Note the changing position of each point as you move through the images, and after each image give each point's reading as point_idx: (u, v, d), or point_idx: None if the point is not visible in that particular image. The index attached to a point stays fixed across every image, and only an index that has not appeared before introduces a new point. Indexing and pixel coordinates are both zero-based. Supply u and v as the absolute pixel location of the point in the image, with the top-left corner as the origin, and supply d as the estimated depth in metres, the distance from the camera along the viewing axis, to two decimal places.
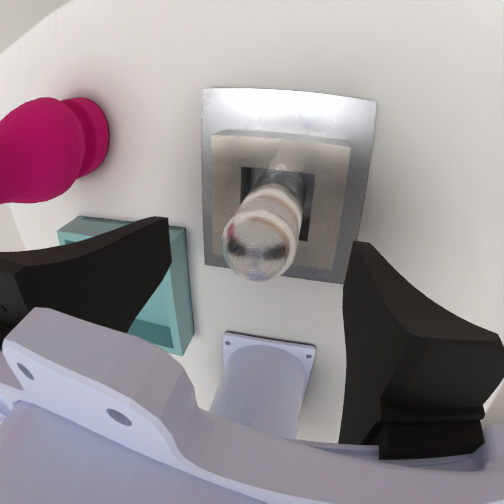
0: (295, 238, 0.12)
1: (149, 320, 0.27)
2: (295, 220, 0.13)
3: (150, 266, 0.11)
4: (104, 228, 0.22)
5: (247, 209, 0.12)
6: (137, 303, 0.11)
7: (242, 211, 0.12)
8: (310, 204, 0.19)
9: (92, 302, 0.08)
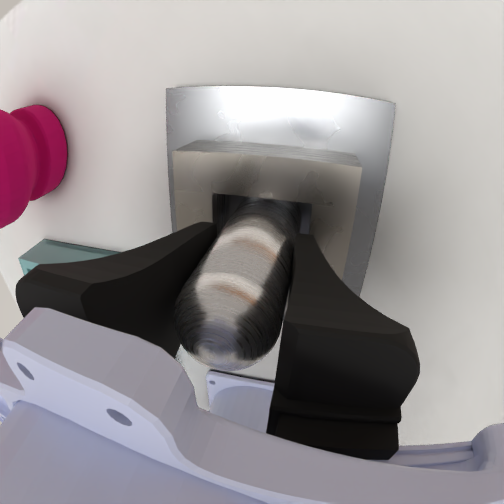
0: (279, 314, 0.08)
1: None
2: (281, 282, 0.09)
3: None
4: (67, 257, 0.18)
5: (207, 273, 0.08)
6: None
7: (200, 275, 0.08)
8: None
9: (153, 318, 0.08)
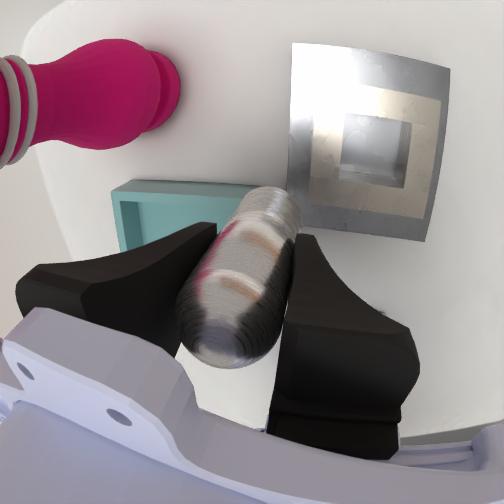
0: (280, 313, 0.08)
1: None
2: (282, 281, 0.09)
3: None
4: (169, 187, 0.21)
5: (209, 270, 0.08)
6: None
7: (202, 272, 0.08)
8: (395, 159, 0.17)
9: (153, 318, 0.08)
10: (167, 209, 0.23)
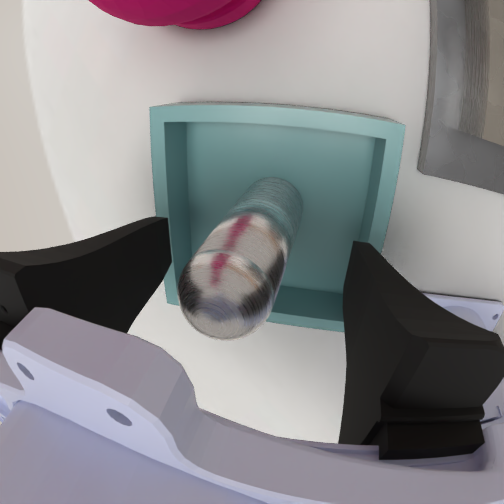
0: (272, 293, 0.09)
1: (286, 282, 0.18)
2: (277, 265, 0.10)
3: (150, 266, 0.11)
4: (252, 104, 0.12)
5: (212, 250, 0.09)
6: (137, 303, 0.11)
7: (205, 251, 0.09)
8: None
9: (92, 302, 0.08)
10: (238, 145, 0.14)
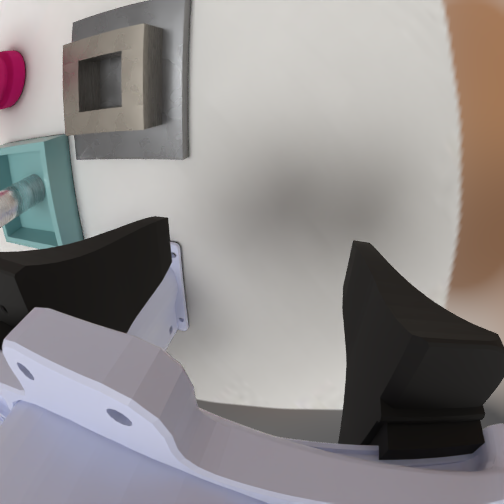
0: None
1: (50, 229, 0.27)
2: None
3: (150, 266, 0.11)
4: (16, 143, 0.22)
5: None
6: (137, 303, 0.11)
7: None
8: None
9: (92, 302, 0.08)
10: (21, 161, 0.24)
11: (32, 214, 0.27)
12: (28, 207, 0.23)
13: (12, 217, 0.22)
